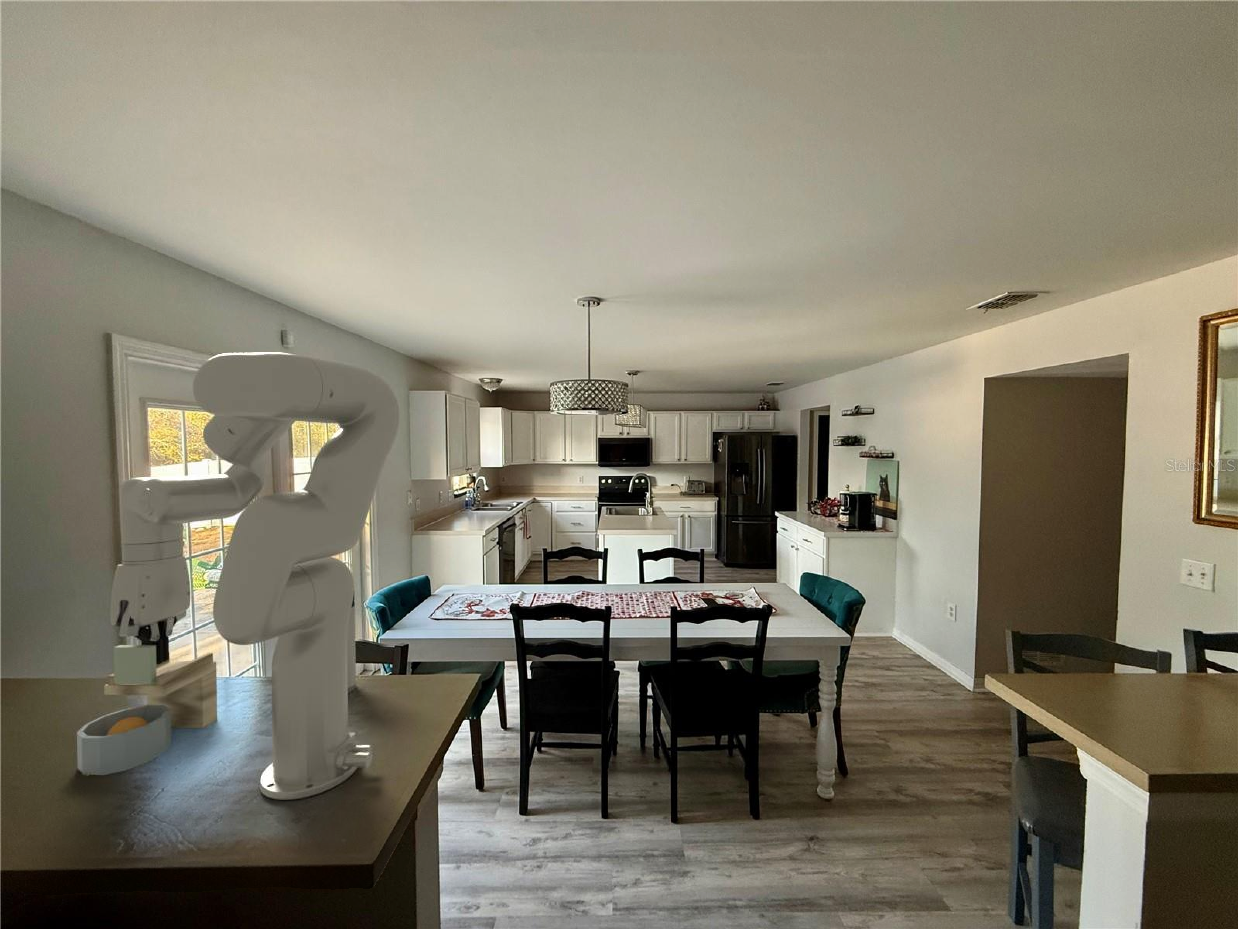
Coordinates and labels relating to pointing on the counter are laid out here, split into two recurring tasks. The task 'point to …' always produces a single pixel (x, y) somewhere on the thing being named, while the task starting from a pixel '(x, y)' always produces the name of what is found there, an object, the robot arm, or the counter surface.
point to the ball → (127, 725)
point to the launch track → (179, 690)
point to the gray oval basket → (123, 740)
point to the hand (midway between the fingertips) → (155, 662)
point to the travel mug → (351, 651)
